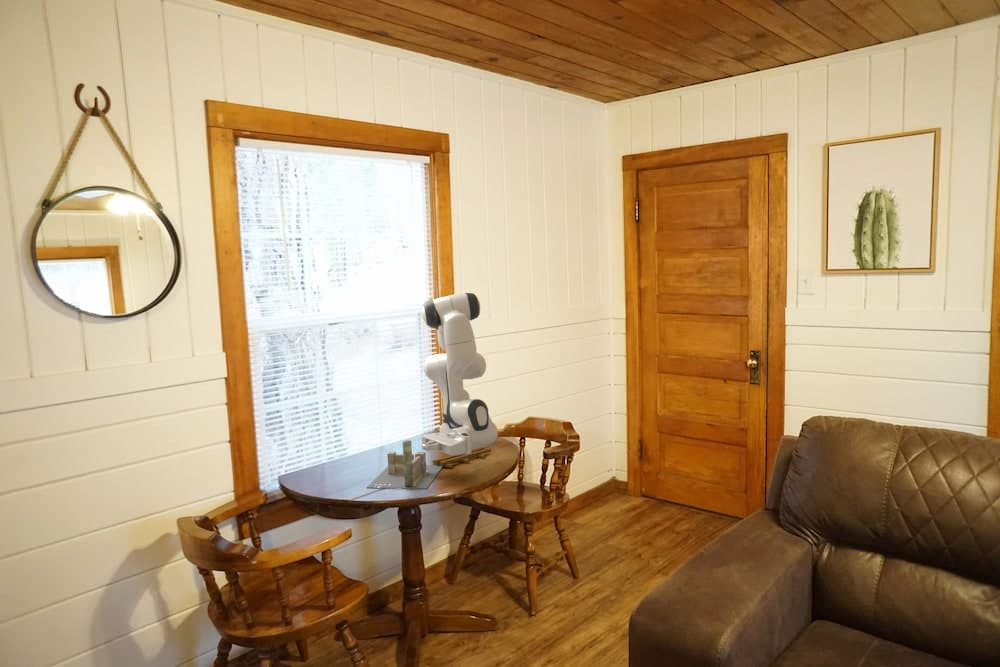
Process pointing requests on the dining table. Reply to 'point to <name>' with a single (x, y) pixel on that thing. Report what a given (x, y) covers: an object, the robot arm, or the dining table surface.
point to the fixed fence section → (396, 463)
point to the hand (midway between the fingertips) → (424, 447)
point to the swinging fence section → (412, 463)
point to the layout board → (398, 481)
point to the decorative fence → (461, 457)
